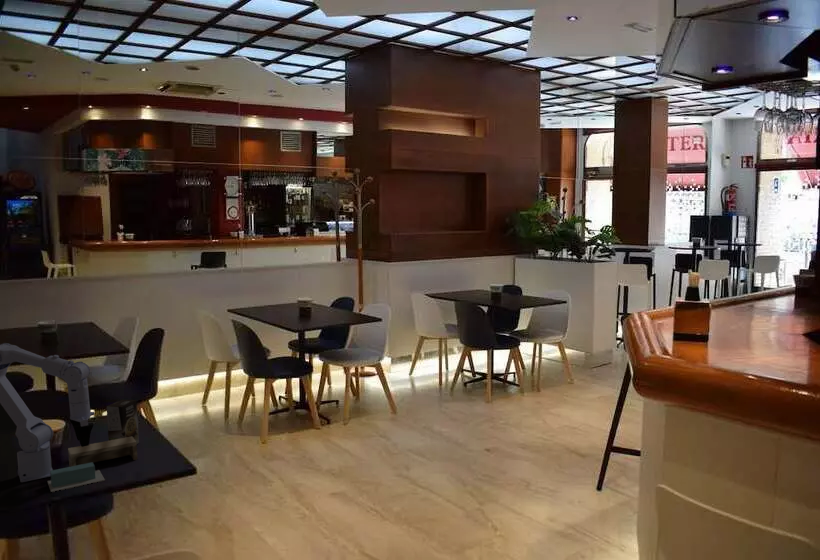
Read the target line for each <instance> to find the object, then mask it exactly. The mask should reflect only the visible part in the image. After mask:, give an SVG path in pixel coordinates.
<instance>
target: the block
mask: <svg viewBox="0 0 820 560" xmlns="http://www.w3.org/2000/svg"><path fill="white" fill-rule="evenodd" d="M95 471H96V466H95V464H94V462H91V463H86V464H81V465H76V466H71V467H69V466H67V467H63V468H58V469H53V470H52V471H50V474H51V476H50V480H51V484H52V487H58V486H62V485H67V484H71V483H76V482H81V481H85V480H90V479H95V478H96V477H95Z"/></svg>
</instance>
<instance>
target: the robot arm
mask: <svg viewBox="0 0 820 560" xmlns="http://www.w3.org/2000/svg"><path fill="white" fill-rule="evenodd" d="M16 362H17V363H20V364H25V365H27V366H28V365H29V366H33V367H37V368H40V369H41V370H42V372H43V373H44V374H46V375H50V376H53V377H57V378H60V379H63V381H64V383H66V385H67V395H68V403H69V415H70V416H69V419H68V421H69V422H70V423H71V425H72V428H73V431H74V433H75V437H76V439H77V441H79V445H80V446H81V447H84V446H89V444H90V439H91V433H92V430H93V427H94V423H93V422H91V423H89V422H88V421H89V419H90V418H91V417H92V416H95V415H96V414H95V412H94V411H91V406H90V393H89V385H88V384H89V383H88V377H89V375H90V371H91V369H90V367H89V365H88V364H86V362H83V361H77V362H74V360H71V359H70V360H68V359H64V358H60V355H58V354H54V355H49V356H47V357H44V356H43V355H39V354H37V353H34V352H32V351H29V350H26V349H23V348H21V347H19V346H18V345H15V344H11V343H7V342H3V343H0V405H1V406H2V408H3V409H4V411H5V413H7V415H8V416H9V417H10V419H11V420H12V422H13V423H14V425H15V426H16V429H15V436H16V438H17V439H18V440H17V441H18V445H19V447H20V449H22V450H19V451H17V453H16V455H17V458H16V459H17V466H18V467H17V468H18V469H17V475H18V478H19V480H20V481H19V482H20V483H26V482H30V481H35V480H36V481H37V480H39V479H43V478H45V479H46V478H49V477H50V478H51V474H50V471H52V470H54V469H53V467H52V456H51V455H52V454H51V440H52V438H53V437H54V429H52V427H51V425H50V424H47V423H46V422H45V421H44V420H43V419H42V418H41V417H38V416H35V415H34V414H33V413H32V411H31V410H30V409H29V407H28V406H27V405H26V402H24V400H23V399H22V398H21V396H20V395H19V393H18V392H17V390H16V389H15V387H14V386H13V384H12V383H11V381H10V380H9V379H8V378H7V376H6V375H7V372H8V368H9V367H10V366H11V364H12V363H16Z"/></svg>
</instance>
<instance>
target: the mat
mask: <svg viewBox="0 0 820 560" xmlns="http://www.w3.org/2000/svg"><path fill="white" fill-rule="evenodd" d="M95 477H96V478H95V479H90V480H85V481H81V482H76V483H71V484H67V485H62V486H58V487H52V484H51V479H50V480H47V485H48V488H49V490H50V493H51V492H52V493H55V491H57V492H60V491H59V490H61V491H64V490H65V489H66V490H70V489H74V487H75V488H78V487H82V486H83V485H84V486H88V485H87V484H89V485H92V484H91V483H93V484H97V482H98V483H101V482H105V481H106V478H104V476H103V474H102V472H101V470H100V469H97V470H95ZM66 490H65V491H66Z"/></svg>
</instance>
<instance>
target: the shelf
mask: <svg viewBox="0 0 820 560" xmlns="http://www.w3.org/2000/svg"><path fill="white" fill-rule="evenodd" d="M137 445H138V444H137V443H136V441H135V439H134V438H133V437H132V436H131V437H126V438H120V439H115V440H110V441H108V440H105V441H100V442H94V443H89V446H84V447H81V445H80V446H79V445H78V446H74V447H68V448H67V454H68V464H69V465H68V467H71V466H76V465H81V464H86V463H91V462H93V463H98V462H103V461H108V460H112V459H117V458H123V457H129V456H130V457H131V458H132V460H133V461H137V459H138V448H137Z"/></svg>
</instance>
